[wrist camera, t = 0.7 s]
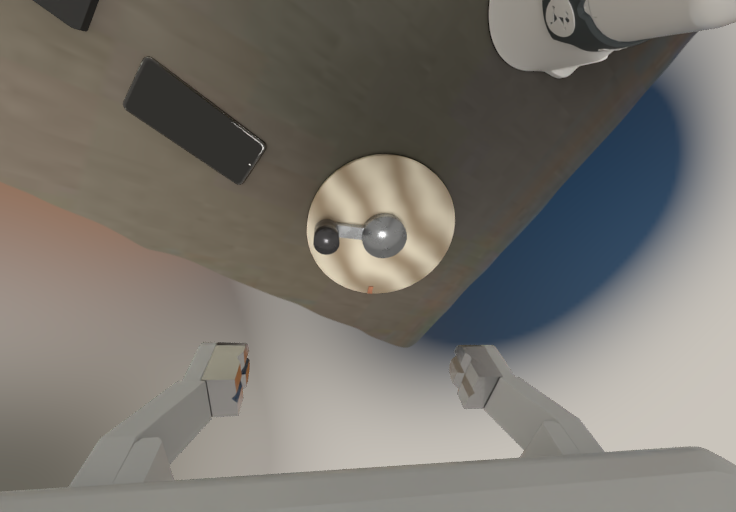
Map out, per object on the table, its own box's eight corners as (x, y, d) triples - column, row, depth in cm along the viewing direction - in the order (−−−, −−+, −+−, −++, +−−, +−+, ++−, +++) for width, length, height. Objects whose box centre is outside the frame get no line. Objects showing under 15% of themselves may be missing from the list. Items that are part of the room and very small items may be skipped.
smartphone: (144, 52, 34) (267, 146, 40) (149, 53, 35) (269, 144, 41) (119, 107, 36) (239, 187, 42) (124, 106, 37) (242, 185, 43)
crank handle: (408, 216, 47) (418, 230, 42) (398, 254, 50) (406, 272, 45) (317, 204, 44) (315, 218, 39) (312, 246, 47) (311, 263, 42)
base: (405, 118, 41) (408, 119, 40) (474, 240, 52) (478, 244, 51) (275, 216, 46) (273, 220, 44) (363, 309, 57) (364, 315, 56)
